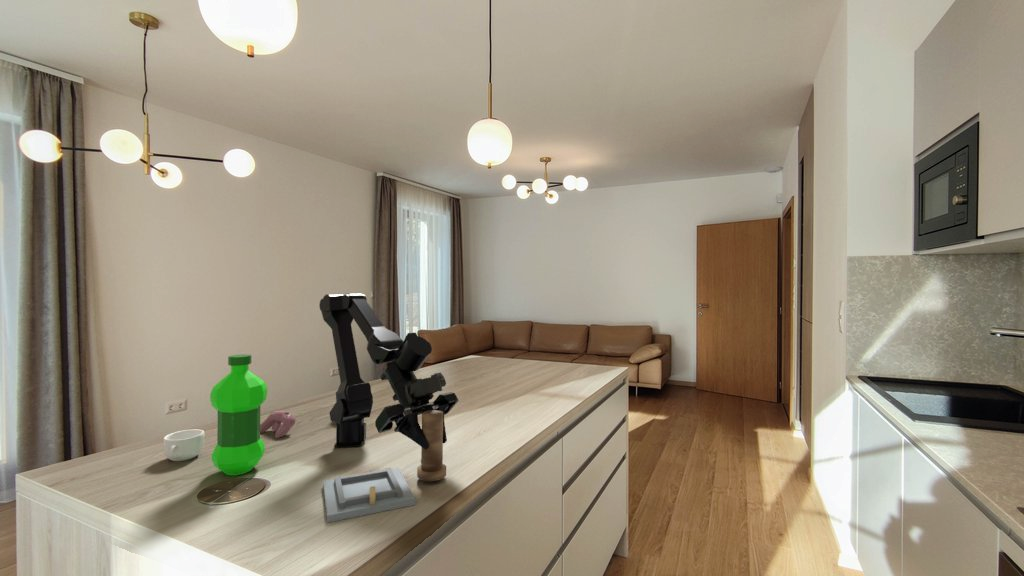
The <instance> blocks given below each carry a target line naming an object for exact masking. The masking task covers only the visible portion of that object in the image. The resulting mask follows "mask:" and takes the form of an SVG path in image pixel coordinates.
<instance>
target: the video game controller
mask: <svg viewBox="0 0 1024 576" xmlns="http://www.w3.org/2000/svg"><path fill="white" fill-rule="evenodd" d="M295 423H296V417H295V416H294V415H293V414H292V413H291V412H289V411H287V410H278V411H276V410H274V411H272V413H270V414H269V415H268V416H267V417H266V419H264V420H263V421H262V422H260V432H262V433H265V432H267V431H268V430H269V429H270V428H271V430H272V432H275V435H274V437H275V438H276V439H281V438H283V437H285V435H286V434H288V433H289V432H290V430H291V429H292V428H293V427H294V426H295ZM264 431H265V432H264ZM280 437H281V438H280Z"/></svg>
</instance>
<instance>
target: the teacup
mask: <svg viewBox="0 0 1024 576" xmlns="http://www.w3.org/2000/svg"><path fill="white" fill-rule="evenodd" d="M162 443H163V444H162V445H163V452H164V455H165V457H167V459H168V460H170V461H172V462H183V461H189V460H191V459H193V458H195V457H196V456H198V455H199V454H200V453H201V452H202V450H203V448H204V446H205V445H204V444H205V430H203V429H195V428H194V429H183V430H178V431H175V432H172V433H167V435H165V436H164V437H163V440H162Z"/></svg>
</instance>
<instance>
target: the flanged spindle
mask: <svg viewBox="0 0 1024 576" xmlns="http://www.w3.org/2000/svg"><path fill="white" fill-rule="evenodd" d="M421 429H422V431H423V433H424V435H425V437H426V439H427V442H428V444H429V448H428V449H424V448H423V447H421V446H420V448H421V453H420V454H421V456H420V458H421V460H420V465H418V466H417V470H416V473H417V474H416V477H417V478H418V480H420V481H423V482H435V481H436V482H437V481H440V480H443V479H444V478H446V476H447V465H446V464H445V463H443V460H444V458H443V456H444V455H443V453H444V449H443V447H444V446H443V445H444V443H443V412H442V411H437V410H430V411H425V412H423V413H422V414H421Z"/></svg>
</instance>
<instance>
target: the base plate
mask: <svg viewBox="0 0 1024 576" xmlns="http://www.w3.org/2000/svg"><path fill="white" fill-rule="evenodd" d="M322 481H323V482H322V483H323V484H322V485H323V486H322V487H323V495H324V496H323V497H324V505H325V512H326V521H327V523H332V522H337V521H342V520H348V519H352V518H357V517H361V516H367V515H372V514H376V513H381V512H386V511H391V510H395V509H401V508H406V507H409V506H415V505H416V497H415V495H414V494H413V492H412V490H411V488H410V486H409V484H408V483H407V480H406V479H405V477H404V475H403V473H402V471H401V470H400V468H399V467H398V468H393V469H392V468H391V467H388V468H385V469H381V470H380V469H379V470H375V471H369V472H363V473H355V474H350V475H345V476H340V475H339V476H334V478H332V479H327V480H322Z"/></svg>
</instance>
